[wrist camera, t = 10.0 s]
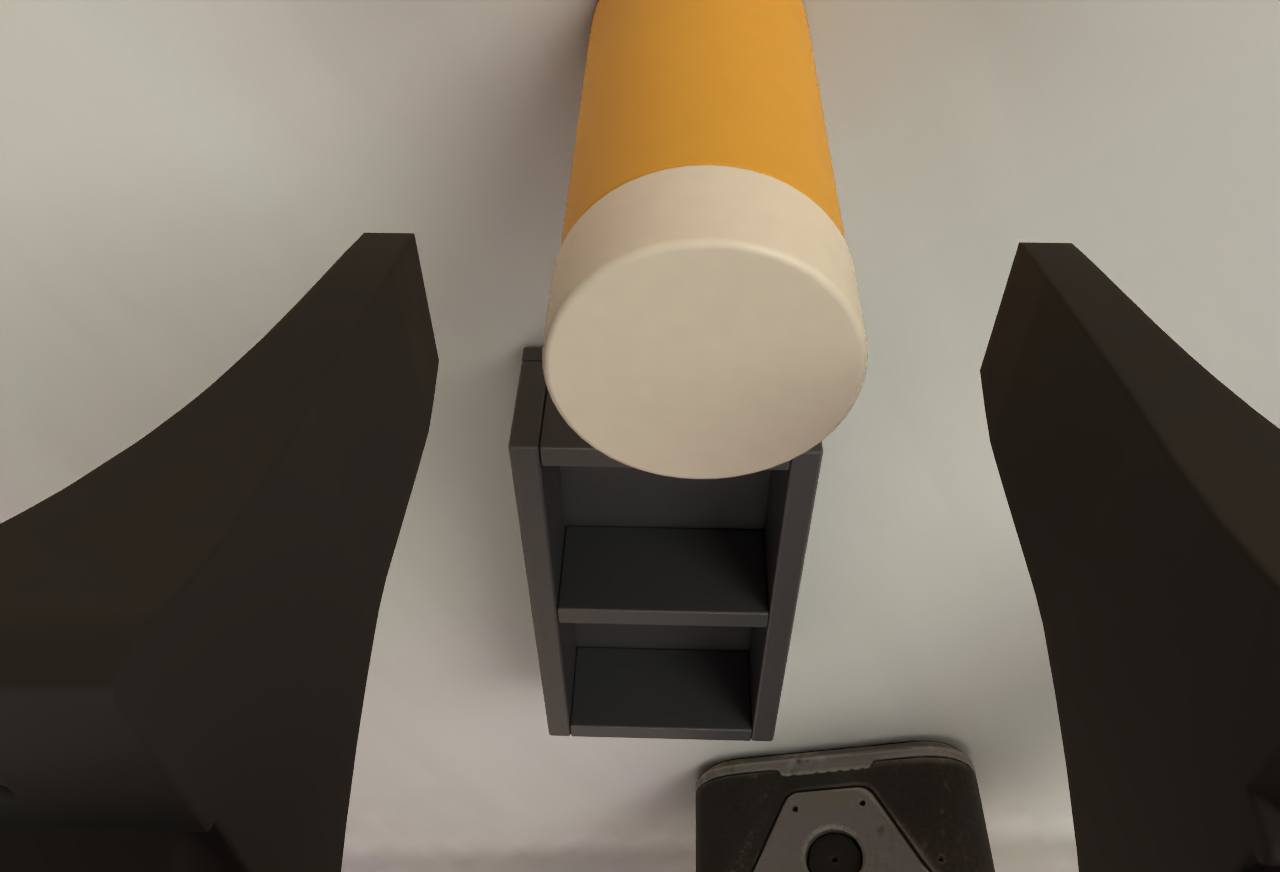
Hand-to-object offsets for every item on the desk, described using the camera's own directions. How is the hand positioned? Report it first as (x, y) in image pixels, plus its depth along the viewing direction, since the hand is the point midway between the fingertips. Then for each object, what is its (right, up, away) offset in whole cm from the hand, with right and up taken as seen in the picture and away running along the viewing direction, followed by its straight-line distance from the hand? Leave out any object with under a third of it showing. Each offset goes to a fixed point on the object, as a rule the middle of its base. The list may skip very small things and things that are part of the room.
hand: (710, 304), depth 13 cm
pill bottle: (0, +5, +5) cm, 7 cm away
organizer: (0, -4, +14) cm, 14 cm away
